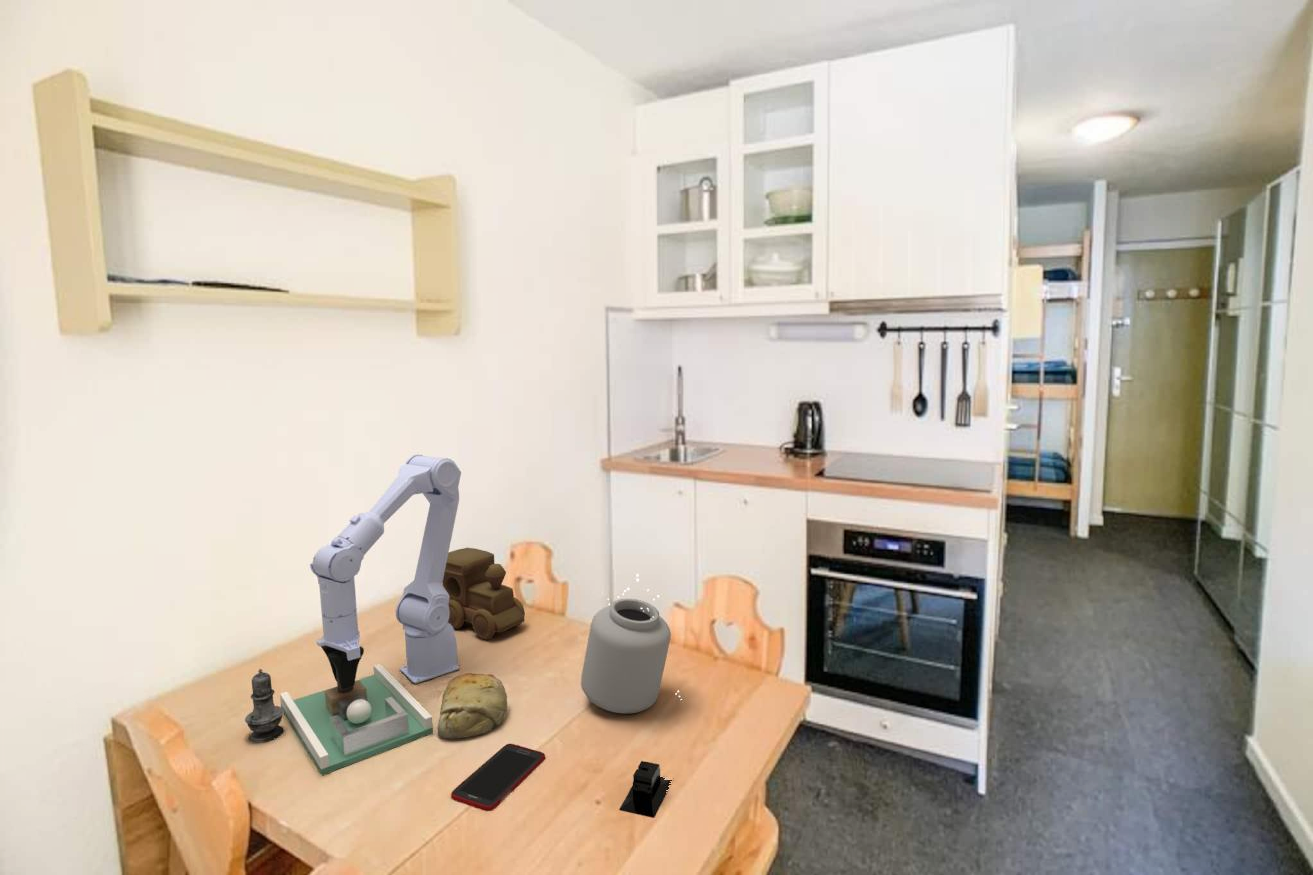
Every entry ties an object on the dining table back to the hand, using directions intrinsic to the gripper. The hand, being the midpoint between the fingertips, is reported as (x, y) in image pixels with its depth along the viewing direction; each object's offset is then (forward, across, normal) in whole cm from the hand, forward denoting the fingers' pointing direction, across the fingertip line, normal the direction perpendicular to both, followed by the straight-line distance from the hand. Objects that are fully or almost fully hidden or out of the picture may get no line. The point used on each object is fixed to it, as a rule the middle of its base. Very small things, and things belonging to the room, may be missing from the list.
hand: (345, 683), depth 128 cm
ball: (+2, +7, 0) cm, 8 cm away
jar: (+6, +32, +41) cm, 52 cm away
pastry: (+6, +18, +16) cm, 25 cm away
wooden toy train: (+6, -18, +36) cm, 41 cm away
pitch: (+5, +4, 0) cm, 7 cm away
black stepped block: (+6, +54, +27) cm, 60 cm away
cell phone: (+6, +36, +12) cm, 38 cm away
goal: (+4, +13, 0) cm, 13 cm away
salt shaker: (+6, -1, -13) cm, 14 cm away
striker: (+4, +1, 0) cm, 4 cm away
